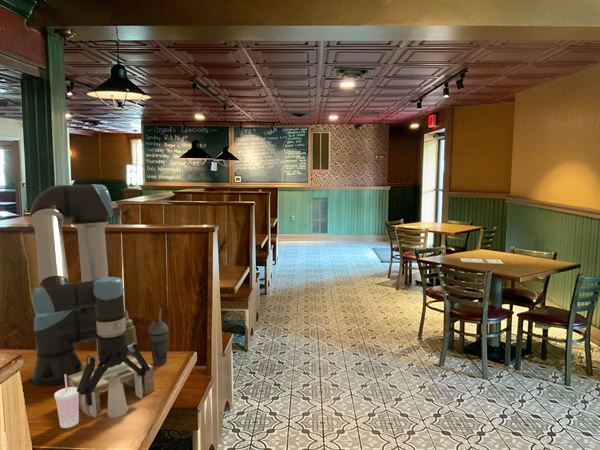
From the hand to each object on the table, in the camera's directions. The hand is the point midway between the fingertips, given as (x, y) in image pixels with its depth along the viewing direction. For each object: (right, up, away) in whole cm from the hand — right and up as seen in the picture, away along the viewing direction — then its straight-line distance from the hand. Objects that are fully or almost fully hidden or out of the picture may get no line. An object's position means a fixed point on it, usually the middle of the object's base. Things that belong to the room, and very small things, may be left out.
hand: (117, 405), depth 130 cm
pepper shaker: (0, -2, 0) cm, 2 cm away
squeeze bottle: (-12, +2, +39) cm, 41 cm away
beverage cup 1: (-11, -3, -4) cm, 13 cm away
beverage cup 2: (+2, +1, +35) cm, 35 cm away
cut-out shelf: (-5, -1, +11) cm, 12 cm away
